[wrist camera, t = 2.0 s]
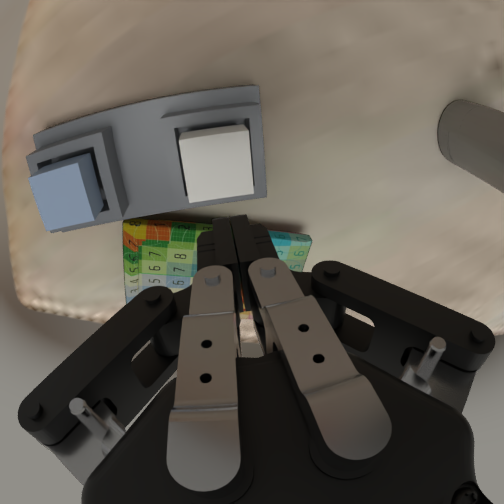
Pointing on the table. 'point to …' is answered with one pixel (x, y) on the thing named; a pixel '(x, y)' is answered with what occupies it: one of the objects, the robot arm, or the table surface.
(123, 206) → the grey plastic block
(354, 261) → the table surface
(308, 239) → the puzzle game
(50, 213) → the blue key
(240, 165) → the white key
